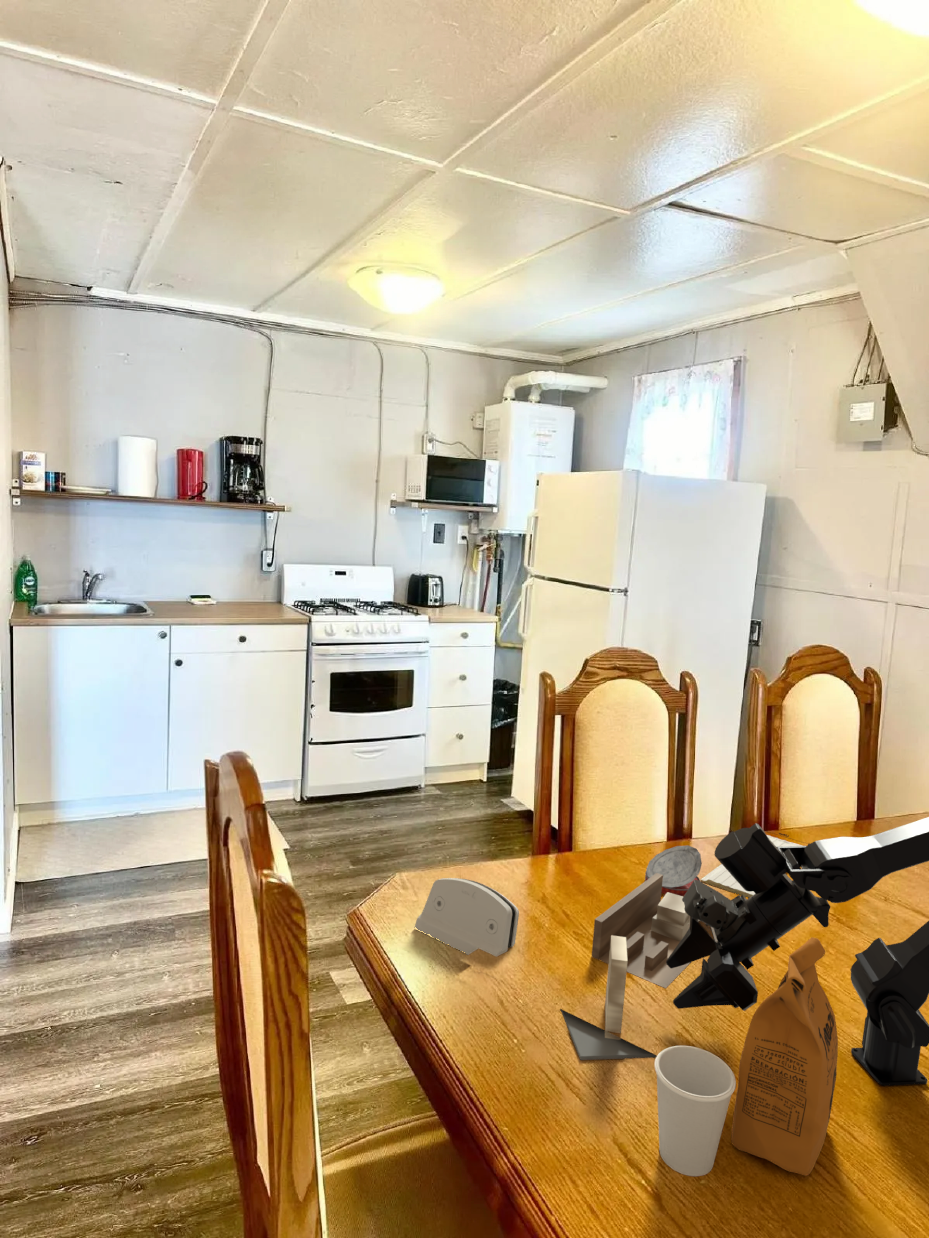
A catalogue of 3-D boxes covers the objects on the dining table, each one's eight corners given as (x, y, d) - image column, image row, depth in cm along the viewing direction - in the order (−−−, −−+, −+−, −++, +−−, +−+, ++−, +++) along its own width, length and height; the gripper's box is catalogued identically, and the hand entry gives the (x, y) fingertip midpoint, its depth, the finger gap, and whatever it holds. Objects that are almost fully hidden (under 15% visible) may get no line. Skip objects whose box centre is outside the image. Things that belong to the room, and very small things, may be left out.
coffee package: (842, 1127, 93) (866, 947, 90) (811, 1195, 83) (837, 996, 80) (755, 1085, 99) (775, 916, 96) (717, 1144, 89) (737, 957, 86)
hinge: (412, 928, 131) (428, 866, 132) (429, 927, 135) (445, 867, 136) (496, 968, 121) (513, 901, 122) (512, 966, 125) (528, 900, 126)
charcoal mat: (671, 1056, 103) (672, 1053, 103) (580, 1059, 102) (580, 1056, 101) (639, 999, 115) (640, 996, 115) (557, 1001, 113) (557, 998, 113)
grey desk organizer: (720, 938, 133) (725, 895, 132) (664, 997, 116) (669, 948, 115) (652, 913, 140) (656, 872, 139) (590, 965, 123) (594, 919, 122)
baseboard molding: (692, 881, 155) (754, 903, 148) (694, 867, 155) (756, 888, 147) (752, 837, 179) (808, 854, 171) (754, 824, 179) (810, 841, 171)
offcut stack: (697, 926, 134) (700, 901, 133) (681, 942, 128) (684, 916, 128) (666, 915, 137) (668, 890, 136) (649, 929, 132) (652, 904, 131)
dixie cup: (694, 1118, 93) (702, 1038, 91) (743, 1175, 85) (753, 1088, 84) (631, 1135, 90) (639, 1052, 88) (676, 1195, 82) (686, 1106, 81)
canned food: (694, 926, 146) (708, 893, 141) (639, 912, 148) (650, 879, 142) (695, 875, 155) (707, 842, 150) (642, 863, 157) (653, 829, 151)
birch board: (619, 1012, 111) (625, 937, 109) (620, 1039, 105) (627, 960, 104) (604, 1010, 111) (611, 935, 110) (604, 1037, 105) (611, 958, 104)
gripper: (714, 839, 112) (627, 904, 115) (738, 902, 94) (634, 977, 97) (767, 899, 112) (679, 963, 115) (802, 974, 94) (696, 1047, 97)
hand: (671, 984), depth 106 cm, fingers open, 9 cm apart
